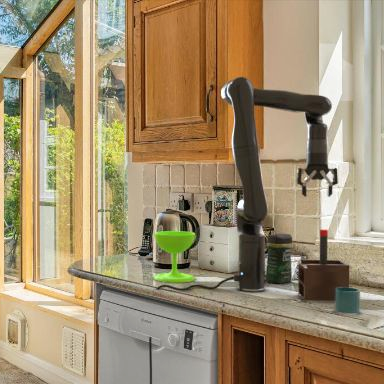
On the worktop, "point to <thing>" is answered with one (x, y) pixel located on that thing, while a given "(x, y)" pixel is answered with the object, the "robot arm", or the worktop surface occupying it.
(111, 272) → the worktop surface
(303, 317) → the worktop surface
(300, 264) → the dark wooden crate
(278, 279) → the coffee jar
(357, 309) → the pen cup
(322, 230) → the marker
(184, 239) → the wineglass
